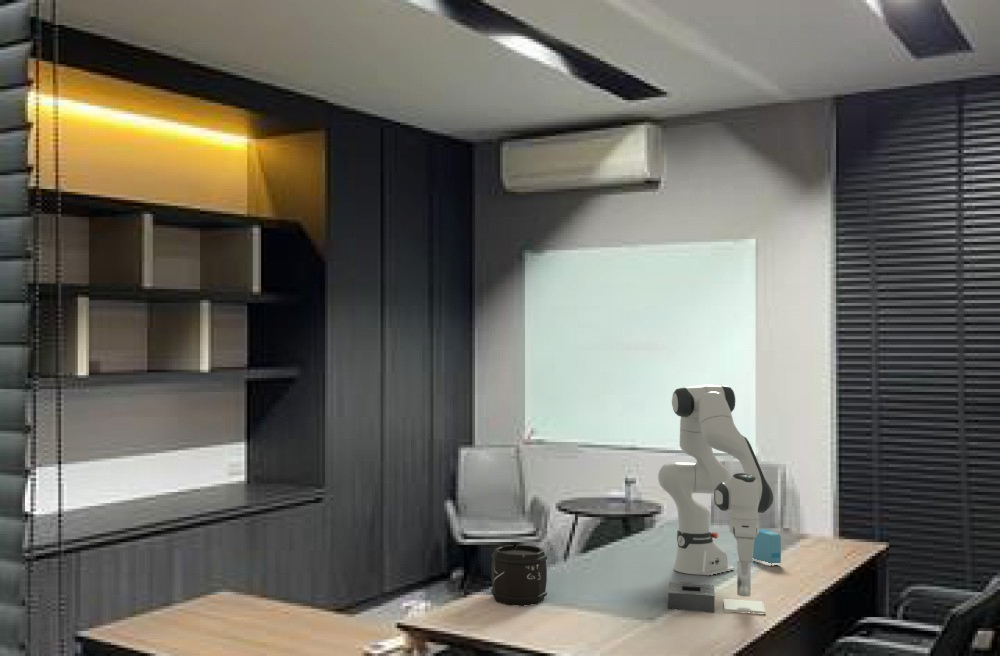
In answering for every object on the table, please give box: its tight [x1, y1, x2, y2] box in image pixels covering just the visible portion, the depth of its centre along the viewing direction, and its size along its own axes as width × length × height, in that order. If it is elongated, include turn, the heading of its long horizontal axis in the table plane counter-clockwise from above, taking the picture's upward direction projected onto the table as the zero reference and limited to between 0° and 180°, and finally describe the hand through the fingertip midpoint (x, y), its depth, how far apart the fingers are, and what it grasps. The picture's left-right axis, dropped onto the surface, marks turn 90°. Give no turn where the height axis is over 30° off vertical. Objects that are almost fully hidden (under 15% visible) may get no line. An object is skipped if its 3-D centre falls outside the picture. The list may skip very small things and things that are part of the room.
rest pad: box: [723, 598, 766, 614], centre depth 288 cm, size 12×12×1 cm
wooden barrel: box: [490, 544, 548, 607], centre depth 295 cm, size 18×18×16 cm
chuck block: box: [667, 581, 716, 613], centre depth 291 cm, size 14×14×5 cm
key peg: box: [736, 560, 752, 597], centre depth 288 cm, size 4×4×10 cm
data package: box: [753, 528, 782, 564], centre depth 352 cm, size 12×4×12 cm, turn 21°
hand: (744, 571), depth 288 cm, fingers closed on key peg, 4 cm apart
